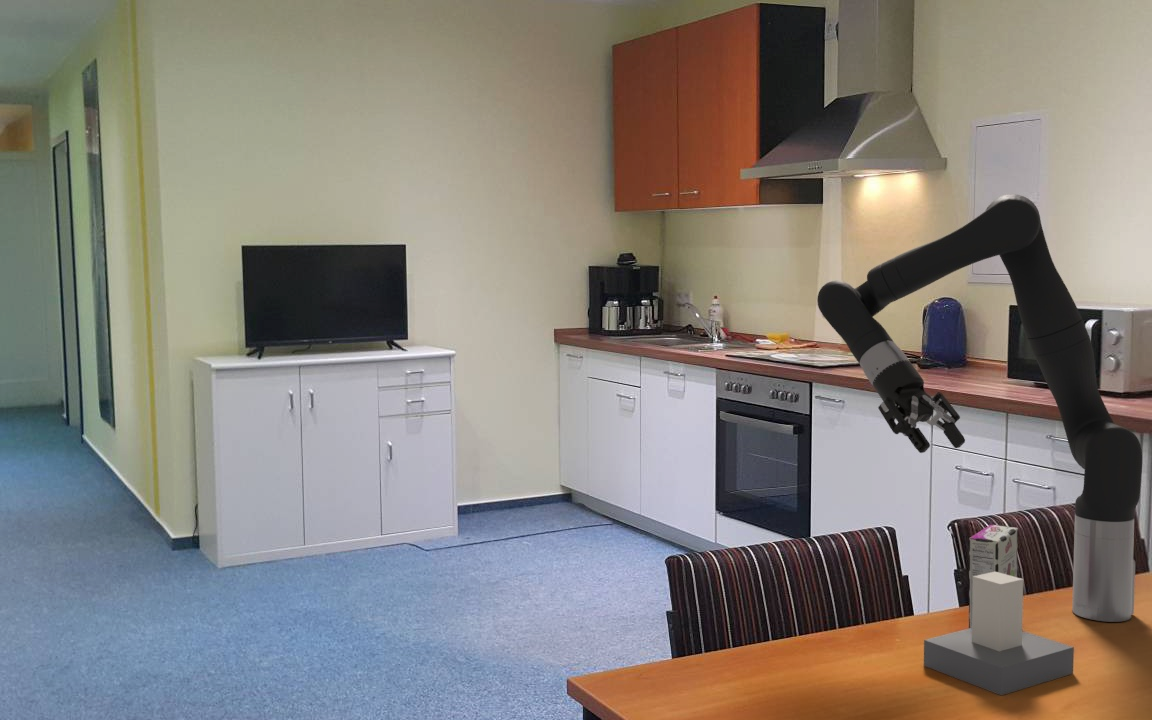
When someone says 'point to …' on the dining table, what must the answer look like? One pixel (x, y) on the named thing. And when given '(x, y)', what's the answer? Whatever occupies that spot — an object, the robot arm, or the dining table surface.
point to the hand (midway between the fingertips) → (943, 447)
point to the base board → (999, 661)
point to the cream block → (997, 611)
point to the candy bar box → (992, 554)
